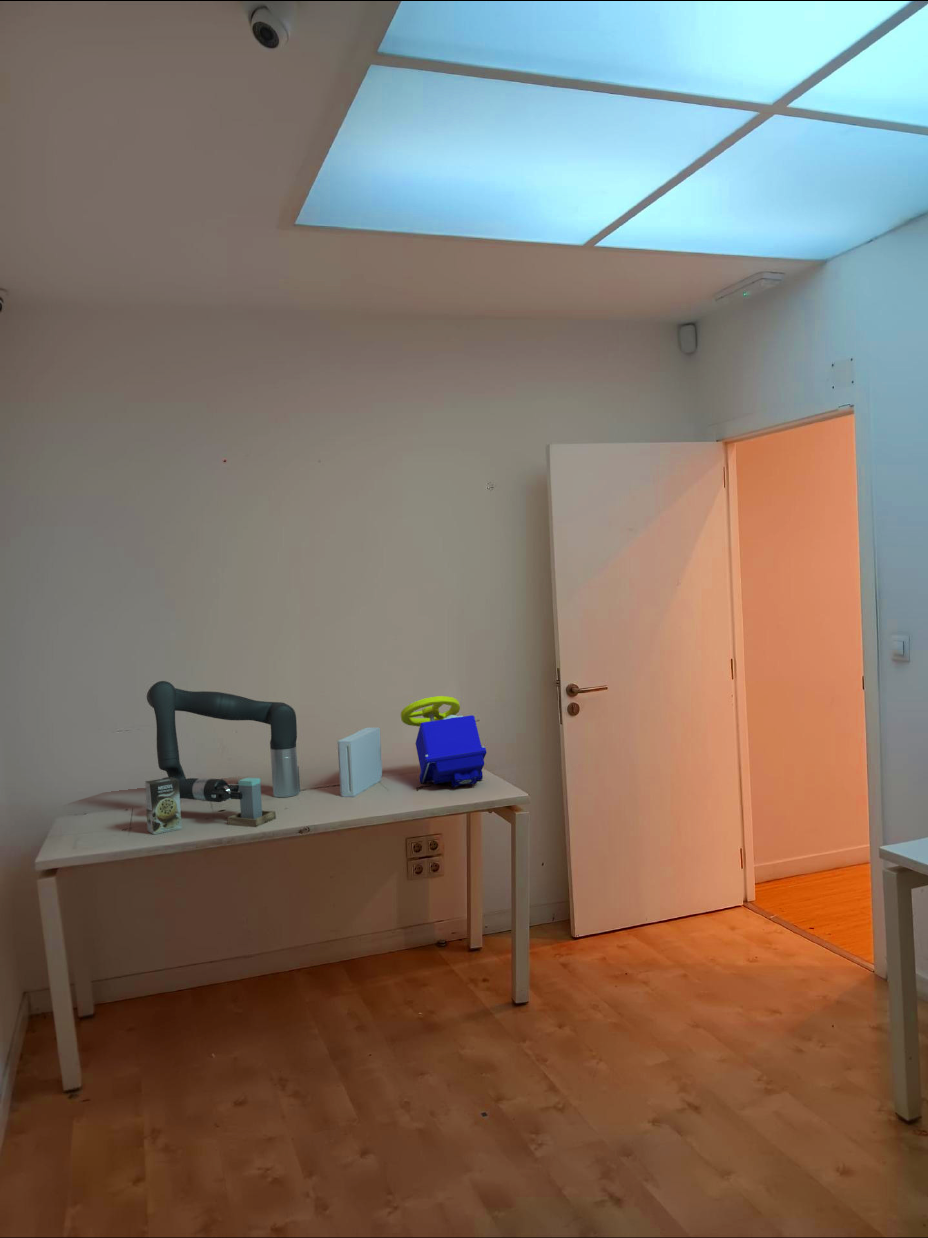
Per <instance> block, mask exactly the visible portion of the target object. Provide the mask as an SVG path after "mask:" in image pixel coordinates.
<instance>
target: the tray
mask: <svg viewBox="0 0 928 1238" xmlns="http://www.w3.org/2000/svg"><path fill="white" fill-rule="evenodd" d="M276 815H277V814H276V811H272V810H262V816H261V817H258V818H256V819H249V818H241V811H240V812H238V813H236V814H233V815H231V816H228V817H227V826H228V825H229V826H238V827H239V826H240V827H248V826H250V828H257V826H258V827H260V826H262V825H265V824H266V823H268V821H269V822H271V821H274V820H276V819H277V818H276V817H277V816H276ZM273 819H274V820H273ZM259 825H260V826H259Z"/></svg>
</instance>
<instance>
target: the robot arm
mask: <svg viewBox="0 0 928 1238" xmlns="http://www.w3.org/2000/svg"><path fill="white" fill-rule="evenodd" d="M146 701H147V703H148V705H149V706H150V707H151V708H153V711H154V716H155V722H156V755H157V764H158V768H159V770H161V771H165V772H166V774H167V777H163V778H161V779H164V778H170V777H173V778H176V779H178V780H179V794H180V800H181V799H186V800H195V801H201V802H212V803H222V802H226V801H227V800H229V801H230V800H240V799H242V793H241V792H239V782H236V783H229V784H228V782H227V781H226V780H225V779H221V778H212V777H211V778H207V777H204V778H196V777H195V778H194V777H190V778H186V775H185V772H184V769H183V766H182V765H181V761H180V760H181V759H180V750H179V743H178V736H177V728H176V727H177V726H176V725H177V724H176V712H177V711H178V712H185V713H189V714H190V713H191V714H196V715H199V716H203V717H208V718H213V719H219V720H225V721H253V722H259V723H262V724H267V725H269V726H270V741H269V747H270V761H271V762H270V763H271V781H272V796H273V797H275V798H287V797H290V798H291V797H294V796H297V795H299V793H300V792H301V783H300V782H301V781H300V767H299V766H298V754H297V738H298V730H297V726H298V725H297V715H296V711H295V709H294V708H293V707H292V706H291V705H289V704H287V703H285V702H282V701H281V702H279V701H274V702H273V701H261V700H256V699H255V700H254V699H251V698H247V697H244V696H240V695H237V694H232V693H226V692H220V691H205V690H203V691H191V690H185V689H180V688H176V687H175V686H174V685H173V684H172V683H171V682H169V681H166V680H161V681H157V682H155V683H154V684H152V686H151V687H149V689H148V691H147V693H146Z"/></svg>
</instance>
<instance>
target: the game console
mask: <svg viewBox="0 0 928 1238" xmlns="http://www.w3.org/2000/svg"><path fill="white" fill-rule="evenodd" d="M337 753H338V754H337V757H338V758H337V759H338V773H339V775H338V776H339V793H340V797H345V798H346V797H348V798H349V797H351V798H353V797H356V796H357V795H359V794H361V793H362V792H364V791H365V790H367V789H369V788H370V787H372V786H374V785H376V784H377V783H379V782H381V779H382V774H383V765H382V748H381V730H380V727H365V728H363V729H360V730H358V731H356V732H355V733H353V734H351V735H348V736H345V737H344V738H342V739H340V740H337Z"/></svg>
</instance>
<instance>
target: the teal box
mask: <svg viewBox="0 0 928 1238" xmlns="http://www.w3.org/2000/svg"><path fill="white" fill-rule="evenodd" d="M238 783H239V791H238V792H241V793H242V799H239V804H240V805H239V808H240V812H241V818H249V819H256V818H258V817H261V816H262V811H263V806H262V805H263V804H262V789H261V777H260V778H259V777H246V778H242V779H239V780H238Z"/></svg>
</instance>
